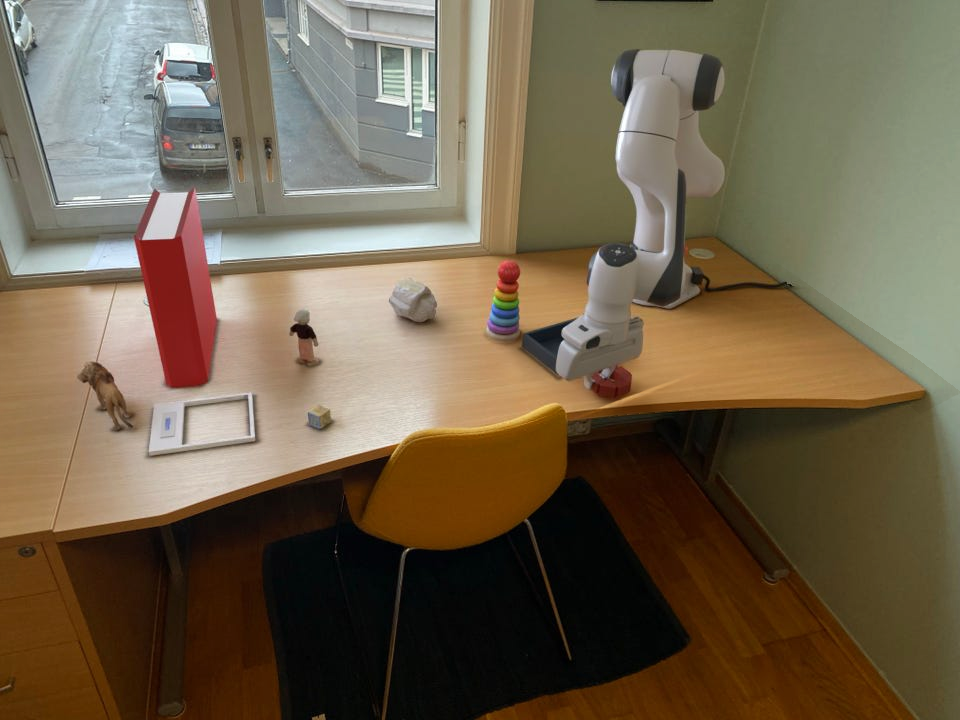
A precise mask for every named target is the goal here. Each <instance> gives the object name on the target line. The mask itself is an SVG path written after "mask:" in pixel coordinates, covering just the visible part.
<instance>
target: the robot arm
mask: <svg viewBox="0 0 960 720" xmlns="http://www.w3.org/2000/svg"><path fill="white" fill-rule="evenodd" d="M725 81H726V80H725V70H724V63H723V62H722V61H721V59H720V58H719V57H717V56H715V55H712V54H710V53H703V54H701V53H696V52H693V51H692V52H690V51H685V50H679V49H670V50H669V49H643V50H641V49H640V48H632V49H627V50H624V51H622V53H620V55H618V56H617V58H616V60H615V63H614V65H613V67H612V70H611V75H610V85H611V91H612V95H613V96H614V98H615V99H616V101H618V102H619V103H621V105H622V106H623V107H624V110H623V114H622V117H621V119H620V120H621V121H620V125H619V129H618V133H617V140H616V146H615V158H614V159H615V164H616V172H617V175H618V178H619V179H620V181H621V182H622V183H623V184H624V185H625V186H626V187H627V189H628V190H629V192H630V194H631V196H632V198H633V201H634V205H635V211H636V217H635V228H634V235H633V239H632V240H631V243H630V245H628V244H625V243H620V242H611V243H606V244H604V245H602V246H601V247H599V249H598V250H597V251H596V252H595V253H594V254H592V256H591V257H590V260H589V263H588V268H587V269H588V270H587V276H586V283H585V284H586V285H587V295H588V300H587V303H586V305H585V308H584V313H582V314H581V315H580V316H578V317H579V318H578V317H576V318H577V319H576V320H575V321H573V322H572V323H570V324H569V325H567V326H566V327H564V328H563V329H562V334H561V335H562V337H563V338H564V340H563V341H562V343H561V344H560V347H559V350H558V355H557V361H556V372H557V373H558V374H559V375H558V376H560V377H561V378H562V379H563V380H565V381H566V382H571V381H575V380H576V379H580V378H583V380H584V381H583V386H584V388H585V389H587V390H590V389H591V388H594V387H595V382H596V381H595V380H593V379H592V378H591V376H593V373H595V372H598V371H601V370H603V371H602V373H600V374H599V375H598V376H600V377H601V378H602V379H604V380H608V381H610V379H609V377H610V376H611V374H612V373H613V371H614V370H615V368H616V365H618V366H619V365H621V364H624V363H627V362H630V361H633V360H636V359H638V358H639V357H640V356H641V354H642V352H643V347H644V331H643V329H644V323H645V322H644V320H643V318H641V317H640V316H633V317H631V316H632V311H631V306H632V303H634V304H637V305H642V306H648V307H659V308H663V309H668V310H669V309H670V310H671V309H673V308H675V307H677V306H679V305H681V304H682V303H684V302H685V303H686V301H688V300H690V299H692V298H694V297H696V296H698V295H700V293H701V289H700V287H699V286H702V285H703V281H704V280H705V281H706V282H705V286H704V288H705V290H706V291H707V292H717V291H722V290H727V289H734V288H738V287H746V286H747V287H748V286H753V287H760V288H761V287H762V288H769V289H770V288H771V289H774V288H781V287H784V286H787V285H788V286H789V287H791V288H794V287H795V285H794V286H792V285H791V284H787V282H786V281H787V280H786V281H783V282H779V283H774V284H772V283H761V282H754V281H748V282H747V281H746V282H745V281H744V282H738V283H733V284H732V283H731V284H726V285H722V286H719V287H718V286H717V287H712V288H711V287H709V286H710V284H711V280H710V278H709V277H708V276H707V275H705V273H704V272H703V270H702V269H701V267H700V266H689V265H688V264H687V263H686V262H685V255H687V254H688V252H689V247H688V246H685V245H686V244H685V243H686V221H687V219H686V218H687V198H688V199H710V198H712V197H713V196H715V195H716V194H717V193H718V192H719V191H720V189H721V188H722V186H723V184H724V181H725V178H726V177H725V176H726V171H725V166H724V165H725V164H724V163H723V161H722V159H721V158H720V157H718V156H717V155H716V154H715V153H714V152H712V151H711V149H709V148H708V146H707V145H706V143H705V142H704V140H703V137H702V136H701V132H700V127H699V126H700V125H699V122H700V121H699V120H700V119H699V118H700V117H699V116H700V112H701V111H707V110H709V109H711V108H712V107H713V106H715V105H716V103H717V101H718V100H719V98H720V96H721V94H722V92H723V89H724V86H725Z"/></svg>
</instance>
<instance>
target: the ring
mask: <svg viewBox="0 0 960 720" xmlns="http://www.w3.org/2000/svg"><path fill="white" fill-rule="evenodd" d="M602 371H603V370H601V371H598V372H595V373H593V376H591V378H592V379H593V380H595V381H596V382H595V387H594V388H591V389H589V390H590V391H591V392H592V393H594V394H595V395H598V396H602V397H608V398H620V397H623V396H625V395H628V394H630V392H631V388H632V383H633V374H632V372H631V371H629V370H628V369H626V368H625V367H624V366H622V365H619V364H618V365H616V368H615V370H614V371H613V373H612V374H611V376H610V377H609V381H608V380H604V379H602V378H601V377H600V376H598V375H599V374H600V373H602Z"/></svg>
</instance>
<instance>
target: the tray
mask: <svg viewBox="0 0 960 720" xmlns="http://www.w3.org/2000/svg"><path fill="white" fill-rule="evenodd" d="M579 317H580V316H578V317H575V318H572V319H568V320H565V321H561V322H558V323H554V324H550V325H547V326H544V327H540V328H536V329H534V330H529V331H527V332H523V333H522V337H521V348H522V349H524V350H525V351H527V352H528V353H529V354H530V355H531V356H533V357H534V358H536V360H538V362H540V363H542V364H543V365H544V366H545V367H546V368H548V369H549V370H550V371H552V372H553V373H554V374H556V375H557V376H560V375H559V374H558V373H557V372H556V361H557V355H558V350H559V347H560V344H561V343H562V341H563V340H564V338H563V337H562V335H561V334H562V329H563V328H564V327H566V326H567V325H569V324H570V323H572V322H573V321H575V320H576V319H577V318H579Z"/></svg>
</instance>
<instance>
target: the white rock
mask: <svg viewBox="0 0 960 720" xmlns="http://www.w3.org/2000/svg"><path fill="white" fill-rule="evenodd" d="M388 302H389V305H390V307H391V308H392V309H393V312H394V314H395V315H398V316H401V317H403V318H407V319H409V320H411V321H412V322H414V323H423V322H425V321H427V320H431V319H433V318H434V317H435V316H436V313H437V307H438V302H437V300H436V297H435V295H434V293H433V292H432V290H431V289H430V288H429V287H428V286H427V285H425V284H423V283H422V282H419V281H417V280H414V279H412V278H411V277H409V278H404V279H402V280H399V281H397V282H396V283H395V284H394V287H393V290H392V293H391V294H390V296H389V298H388Z"/></svg>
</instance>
